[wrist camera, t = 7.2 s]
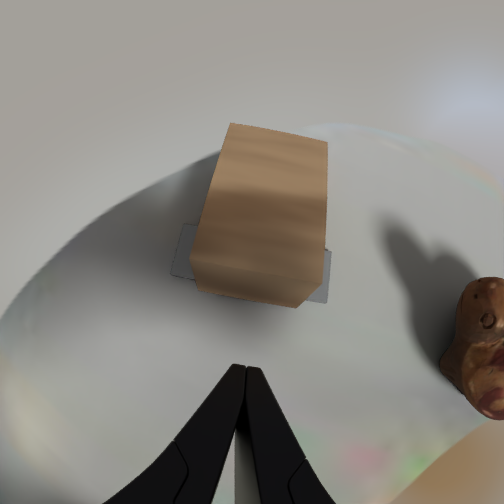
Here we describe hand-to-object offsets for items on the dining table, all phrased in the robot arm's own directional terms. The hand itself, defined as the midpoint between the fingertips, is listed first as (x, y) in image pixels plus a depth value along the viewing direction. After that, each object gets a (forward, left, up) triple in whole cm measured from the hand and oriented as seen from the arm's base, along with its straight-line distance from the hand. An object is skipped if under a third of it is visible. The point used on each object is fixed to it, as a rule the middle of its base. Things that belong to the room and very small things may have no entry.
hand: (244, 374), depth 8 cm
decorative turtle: (+2, -19, -9) cm, 21 cm away
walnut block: (+4, 0, -6) cm, 7 cm away
